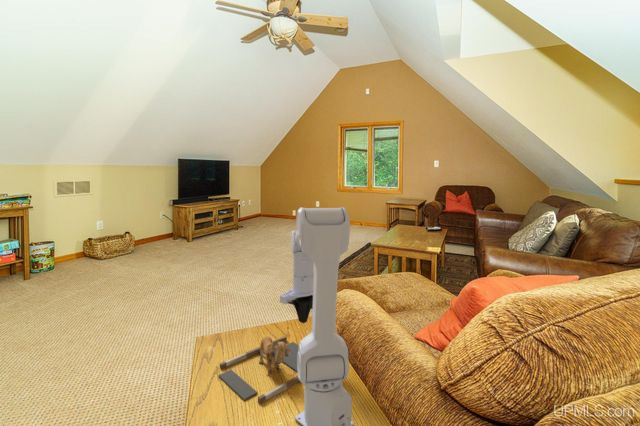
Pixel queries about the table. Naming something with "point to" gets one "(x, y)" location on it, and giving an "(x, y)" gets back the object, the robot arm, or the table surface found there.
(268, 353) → the lion figurine
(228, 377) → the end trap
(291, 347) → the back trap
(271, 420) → the table surface
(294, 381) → the wooden sticks
